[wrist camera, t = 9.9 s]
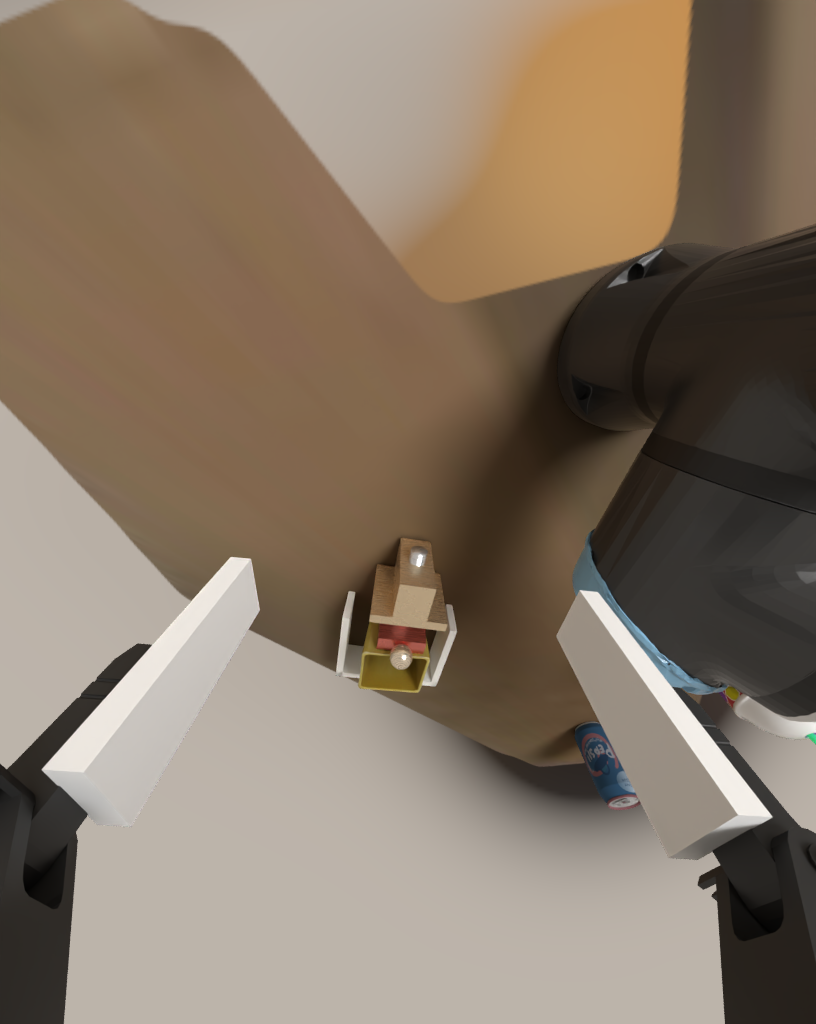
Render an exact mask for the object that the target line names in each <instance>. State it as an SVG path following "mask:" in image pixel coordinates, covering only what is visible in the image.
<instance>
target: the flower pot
mask: <svg viewBox="0 0 816 1024" xmlns="http://www.w3.org/2000/svg"><path fill="white" fill-rule="evenodd" d="M378 627H379V623H374V622H370V623H369V626H368V630H367V634H366V639H365V643H364V647H363V651H362V657H361V670H360V677H359V683H358V686H359V688H362V689H373V690H387V691H401V692H416V693H418V692H419V691H420V689H421V686H422V683H423V680H424V677H425V674H426V671H427V668H428V665H429V662H430V655H429V649H428V644H427V639H426V647H425V650H424V653H423V654H417V653H412V654H413V659H412V662H411V664H410V666H409V667H407V668H406V669H402V670H400V669H396V668H395V667H394V666H393V665H392V664H391V662H390V652H391V650H383V649H376V648H377V638H378Z"/></svg>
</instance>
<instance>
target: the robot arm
mask: <svg viewBox="0 0 816 1024" xmlns="http://www.w3.org/2000/svg"><path fill="white" fill-rule="evenodd" d="M557 373H558V382H559V387H560V391H561V394H562V396H563V398H564V400H565V402H566V404H567V405H568V407H569V408H570V409H571V410H572V412H573V413H574V414H576V415H577V416H578V417H579V418H581V419H582V420H584V421H586V422H588V423H591V424H593V425H596V426H598V427H601V428H604V429H609V430H615V431H632V430H641V429H650V428H654V429H653V431H652V432H651V434H650V436H649V437H648V439H647V441H646V443H645V444H644V446H643V448H642V449H641V450H640V452H639V454H638V455H637V457H636V459H635V461H634V462H633V464H632V466H631V468H630V469H629V471H628V473H627V475H626V476H625V478H624V480H623V482H622V483H621V485H620V487H619V489H618V490H617V492H616V494H615V496H614V497H613V499H612V501H611V502H610V504H609V506H608V508H607V509H606V511H605V513H604V515H603V516H602V518H601V520H600V522H599V523H598V525H597V527H596V529H594V530H592V531H591V532H590V533H589V534H588V536H587V538H586V541H585V547H584V549H583V551H582V553H581V555H580V557H579V559H578V561H577V563H576V565H575V568H574V571H573V588H574V591H575V594H576V598H575V600H574V602H573V604H572V606H571V608H570V610H569V612H568V614H567V616H566V618H565V620H564V622H563V624H562V626H561V628H560V630H559V632H558V634H557V636H556V637H557V639H558V641H559V643H560V645H561V647H562V649H563V651H564V653H565V655H566V657H567V659H568V661H569V663H570V665H571V667H572V669H573V671H574V673H575V675H576V676H577V678H578V680H579V682H580V684H581V686H582V688H583V690H584V692H585V694H586V696H587V698H588V700H589V702H590V704H591V706H592V708H593V710H594V712H595V714H596V716H597V718H598V720H599V722H600V724H601V726H602V728H603V730H604V732H605V734H606V736H607V738H608V740H609V741H610V743H611V745H612V747H613V749H614V751H615V753H616V755H617V757H618V759H619V761H620V763H621V765H622V767H623V769H624V771H625V773H626V775H627V777H628V779H629V781H630V783H631V785H632V787H633V789H634V791H635V793H636V795H637V797H638V799H639V801H640V803H641V804H642V806H643V808H644V810H645V812H646V814H647V816H648V818H649V820H650V822H651V824H652V826H653V828H654V830H655V832H656V834H657V836H658V838H659V840H660V842H661V844H662V846H663V848H664V850H665V852H666V854H667V856H668V857H669V858H676V859H693V860H698V859H700V858H702V857H704V856H705V855H707V854H709V853H711V852H712V851H713V853H714V855H715V856H716V858H717V859H718V861H719V863H720V866H718V867H716V868H715V869H712V870H710V871H709V872H707V873H705V874H703V875H701V876H700V877H699V881H698V886H699V887H701V888H702V889H706V888H708V887H710V886H712V885H714V884H716V888H717V891H715V892H714V893H713V894H712V897H713V898H714V899H715V900H716V901H717V905H718V920H719V936H720V951H721V968H722V984H723V999H724V1012H725V1013H724V1014H725V1024H816V833H814V832H812V831H810V830H808V829H804V828H801V827H800V826H799V825H798V824H797V823H796V822H795V821H794V819H793V818H792V817H791V816H790V815H789V814H788V813H787V811H786V810H785V809H784V808H783V807H782V805H781V804H780V803H779V802H778V800H777V799H776V798H775V797H774V796H773V794H772V793H771V792H770V791H769V789H768V788H767V787H766V786H765V785H764V783H763V782H762V781H761V780H760V779H759V777H758V776H757V775H756V773H755V772H754V771H753V770H752V769H751V767H750V766H749V765H748V764H747V762H746V761H745V760H744V759H743V758H742V756H741V755H740V754H739V753H738V751H737V750H736V749H735V748H734V747H733V746H731V745H730V744H729V740H728V739H727V738H726V737H725V736H724V734H723V733H722V732H721V731H720V729H717V728H716V725H715V723H714V722H713V721H712V720H711V718H710V717H709V716H708V715H707V713H706V712H705V711H704V710H703V709H702V707H701V706H700V705H699V704H698V703H697V702H696V701H694V700H693V699H692V698H691V697H690V696H689V695H688V694H686V693H685V692H684V691H683V690H682V689H681V687H682V688H683V689H684V690H685V691H686V692H689V693H693V694H703V695H704V694H710V693H713V692H723V691H724V690H725V689H726V688H727V687H728V686H729V685H730V686H732V687H734V688H735V689H737V690H738V691H740V692H741V693H743V694H745V695H747V696H748V697H750V698H751V699H753V700H755V701H756V702H758V703H759V704H761V705H762V706H764V707H766V708H767V709H769V710H770V711H772V712H773V713H775V714H777V715H778V716H780V717H782V718H784V719H787V720H790V721H797V722H815V723H816V224H814V225H810V226H807V227H804V228H801V229H798V230H795V231H792V232H788V233H785V234H782V235H779V236H776V237H773V238H770V239H767V240H763V241H760V242H757V243H754V244H751V245H748V246H745V247H742V248H739V249H733V248H725V247H718V246H710V245H703V244H694V243H682V244H674V245H668V246H664V247H660V248H657V249H655V250H652V251H649V252H647V253H644V254H642V255H639V256H637V257H635V258H633V259H630V260H628V261H626V262H625V263H623V264H621V265H620V266H618V267H616V268H615V269H614V270H612V271H611V272H609V273H608V274H607V275H606V276H604V277H603V278H602V279H601V280H600V281H599V282H598V283H597V284H596V285H595V286H594V287H593V288H592V289H591V290H590V291H589V292H588V294H587V295H586V296H585V297H584V299H583V300H582V301H581V303H580V304H579V306H578V307H577V309H576V310H575V312H574V314H573V316H572V317H571V319H570V321H569V323H568V326H567V328H566V330H565V333H564V336H563V339H562V342H561V345H560V350H559V355H558V365H557ZM259 611H260V608H259V602H258V596H257V591H256V585H255V579H254V573H253V568H252V562H251V559H247V558H236V557H230V559H229V560H228V561H227V562H226V563H225V564H224V565H223V566H222V567H221V569H220V570H219V571H218V572H217V573H216V574H215V575H214V576H213V578H212V579H211V580H210V581H209V582H208V583H207V584H206V585H205V587H204V588H203V589H202V590H201V591H200V592H199V593H198V594H197V596H196V597H195V598H194V599H193V600H192V601H191V602H190V603H189V605H188V606H187V607H186V608H185V609H184V610H183V612H181V614H180V615H179V616H178V617H177V618H176V619H175V620H174V621H173V623H172V624H171V625H170V626H169V627H168V628H167V629H166V631H165V632H164V633H163V634H162V635H161V636H160V637H159V638H158V639H157V641H156V642H155V643H154V644H153V645H148V644H136V645H135V646H133V647H132V648H130V649H129V650H127V651H126V652H125V653H123V654H122V655H120V656H119V657H117V658H116V659H115V660H113V662H112V663H111V664H110V665H109V666H108V667H107V668H106V669H105V670H104V671H103V672H102V673H101V674H100V675H99V676H98V677H97V680H96V681H95V682H92V683H91V684H90V685H89V686H88V687H87V688H86V689H85V690H84V691H83V693H82V694H81V696H80V697H79V698H77V699H76V700H75V701H74V702H73V703H72V704H71V705H70V706H69V707H68V708H67V709H66V710H65V711H64V712H63V713H62V714H61V715H60V716H59V717H58V718H57V719H56V720H55V721H54V722H53V723H52V724H51V725H50V726H49V727H48V728H47V729H46V730H45V731H44V732H43V734H41V736H40V737H39V738H38V739H37V740H36V741H35V742H34V743H33V744H32V745H31V746H30V747H29V748H28V749H27V750H26V751H25V752H24V753H23V754H22V755H21V756H20V757H19V758H18V759H17V760H16V761H15V762H14V763H13V764H12V765H11V766H10V767H9V768H8V769H5V768H4V767H3V766H2V765H1V764H0V1024H64V1012H65V1000H66V987H67V972H68V960H69V947H70V934H71V933H70V932H71V921H72V908H73V894H74V882H75V869H76V856H77V843H78V840H77V835H76V831H77V829H78V828H79V826H80V825H81V824H82V822H83V821H84V819H85V818H86V817H87V815H88V816H89V817H90V818H91V819H92V820H93V821H94V822H95V823H96V824H97V825H107V826H125V827H131V826H132V825H133V823H134V821H135V820H136V818H137V816H138V815H139V813H140V811H141V810H142V808H143V806H144V805H145V803H146V801H147V799H148V798H149V796H150V794H151V793H152V791H153V789H154V788H155V786H156V784H157V783H158V781H159V779H160V778H161V776H162V774H163V772H164V771H165V769H166V767H167V766H168V764H169V762H170V761H171V759H172V757H173V756H174V754H175V752H176V751H177V749H178V747H179V746H180V744H181V742H182V740H183V739H184V737H185V735H186V734H187V732H188V730H189V729H190V727H191V725H192V724H193V722H194V720H195V719H196V717H197V715H198V714H199V712H200V710H201V708H202V707H203V705H204V703H205V702H206V700H207V698H208V697H209V695H210V693H211V691H212V690H213V688H214V687H215V685H216V683H217V681H218V680H219V678H220V676H221V675H222V673H223V671H224V669H225V668H226V666H227V665H228V663H229V661H230V660H231V658H232V656H233V654H234V653H235V651H236V649H237V648H238V646H239V644H240V643H241V641H242V639H243V638H244V636H245V634H246V632H247V631H248V629H249V628H250V626H251V624H252V623H253V621H254V619H255V617H256V616H257V614H258V612H259Z"/></svg>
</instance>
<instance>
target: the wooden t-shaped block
mask: <svg viewBox="0 0 816 1024" xmlns="http://www.w3.org/2000/svg"><path fill="white" fill-rule="evenodd" d="M369 622H374V623H379V627H378V638H377V648H376V649H383V650H391V652H390V662H391V664H392V665H393V666H394V667H395V668H396V669H400V670H402V669H406V668H407V667H409V666H410V664H411V662H412V659H413V654H412V653H417V654H423V653H424V650H425V647H426V630H425V629H430V630H438V631H446V628H447V625H448V623H447V617H446V610H445V604H444V597H443V591H442V584H441V577H440V573H434V565H433V558H432V550H431V542H427V541H420V540H414V539H407V538H401V540H400V545H399V550H398V555H397V559H396V564H395V567H392V566H385V565H378V564H377V569H376V575H375V583H374V590H373V598H372V605H371V612H370V620H369Z"/></svg>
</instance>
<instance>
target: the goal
mask: <svg viewBox="0 0 816 1024" xmlns="http://www.w3.org/2000/svg"><path fill="white" fill-rule="evenodd" d="M354 599H355V592H352V591H349V592H348V596H347V601H346V605H345V609H344V613H343V617H342V626H341V635H340V643H339V652H338V660H337V669H336V676H342V677H352V678H359V677H360V670H361V657H362V651H363V647H364V646H358V645H349V644H348V642H349V635H350V628H351V621H352V613H353V606H354ZM445 610H446V617H447V623H448V625H447V628H446V631H438V630H437V632H436V635H435V638H434V641H433V644H432V647H431V650H430V653H429V655H430V662H429V665H428V668H427V671H426V674H425V677H424V680H423V683H422V685H426V686H436V685H437V682H438V680H439V677H440V675H441V672H442V670H443V667H444V664H445V662H446V659H447V657H448V654H449V651H450V649H451V646H452V644H453V641H454V638H455V636H456V633H457V628H456V623H455V617H454V612H453V607H452V605H449V604H446V605H445Z"/></svg>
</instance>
